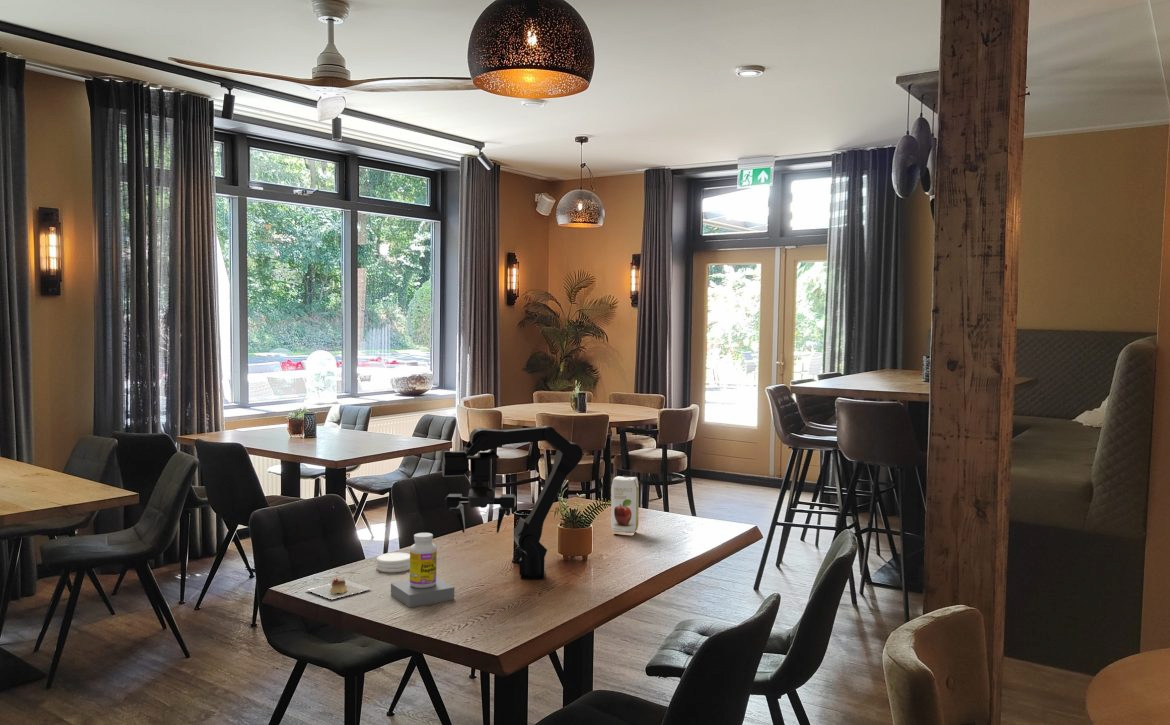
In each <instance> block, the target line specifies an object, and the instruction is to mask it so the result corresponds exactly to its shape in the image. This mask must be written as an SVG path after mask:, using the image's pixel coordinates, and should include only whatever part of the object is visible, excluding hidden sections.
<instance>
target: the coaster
mask: <svg viewBox="0 0 1170 725" xmlns="http://www.w3.org/2000/svg"><path fill="white" fill-rule="evenodd" d="M375 561H376V570H377V571H378V572H382V573H389V574H391V573H392V574H393V573H402V572H406V571H410V553H407V552H387V553H383V554H380V555H378V556H377V557H376V560H375Z"/></svg>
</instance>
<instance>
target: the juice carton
mask: <svg viewBox="0 0 1170 725" xmlns="http://www.w3.org/2000/svg"><path fill="white" fill-rule="evenodd" d="M639 485H640V484H639V480H638V476H621V475H617V476H615V477H614V478H613V479H612V483H611V490H610V491H611V497H610V498H611V501H610V502H611V504H610V506H611V508H610V510H611V511H610V512H611V513H610V518H611V520H610V521H611V522H610V525H611V531H614V532H625V533H634V532H635V531H636V530H637V531H638V529H639V507H640V506H639V503H640V502H639V501H640V500H639V496H640V495H639V494H640V492H639V491H640V490H639V488H640V487H639Z"/></svg>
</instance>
